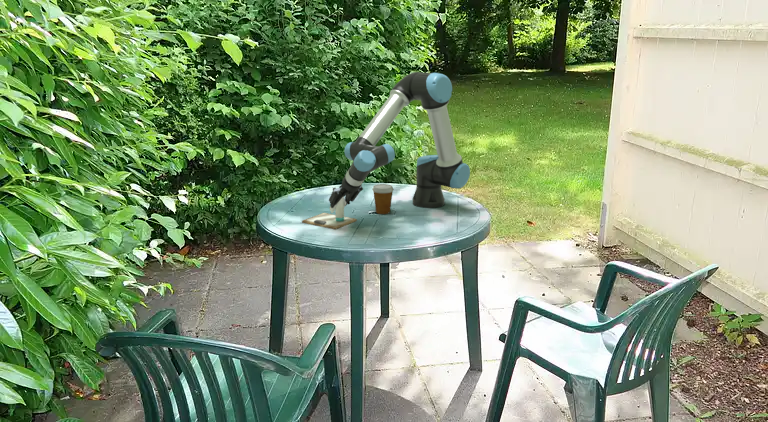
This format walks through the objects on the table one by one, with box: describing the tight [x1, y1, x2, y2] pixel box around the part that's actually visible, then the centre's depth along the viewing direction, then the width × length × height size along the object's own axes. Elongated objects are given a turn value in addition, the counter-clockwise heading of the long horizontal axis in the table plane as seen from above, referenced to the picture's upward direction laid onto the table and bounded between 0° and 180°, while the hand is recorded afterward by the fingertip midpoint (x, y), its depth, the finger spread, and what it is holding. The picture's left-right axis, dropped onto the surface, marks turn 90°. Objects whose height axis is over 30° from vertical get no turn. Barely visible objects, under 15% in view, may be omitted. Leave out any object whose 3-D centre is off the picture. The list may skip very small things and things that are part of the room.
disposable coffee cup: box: [372, 183, 394, 215], centre depth 279 cm, size 10×10×12 cm
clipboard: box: [301, 212, 358, 230], centre depth 266 cm, size 18×15×2 cm
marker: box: [334, 197, 345, 221], centre depth 263 cm, size 4×4×13 cm
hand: (335, 209), depth 266 cm, fingers closed on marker, 3 cm apart
